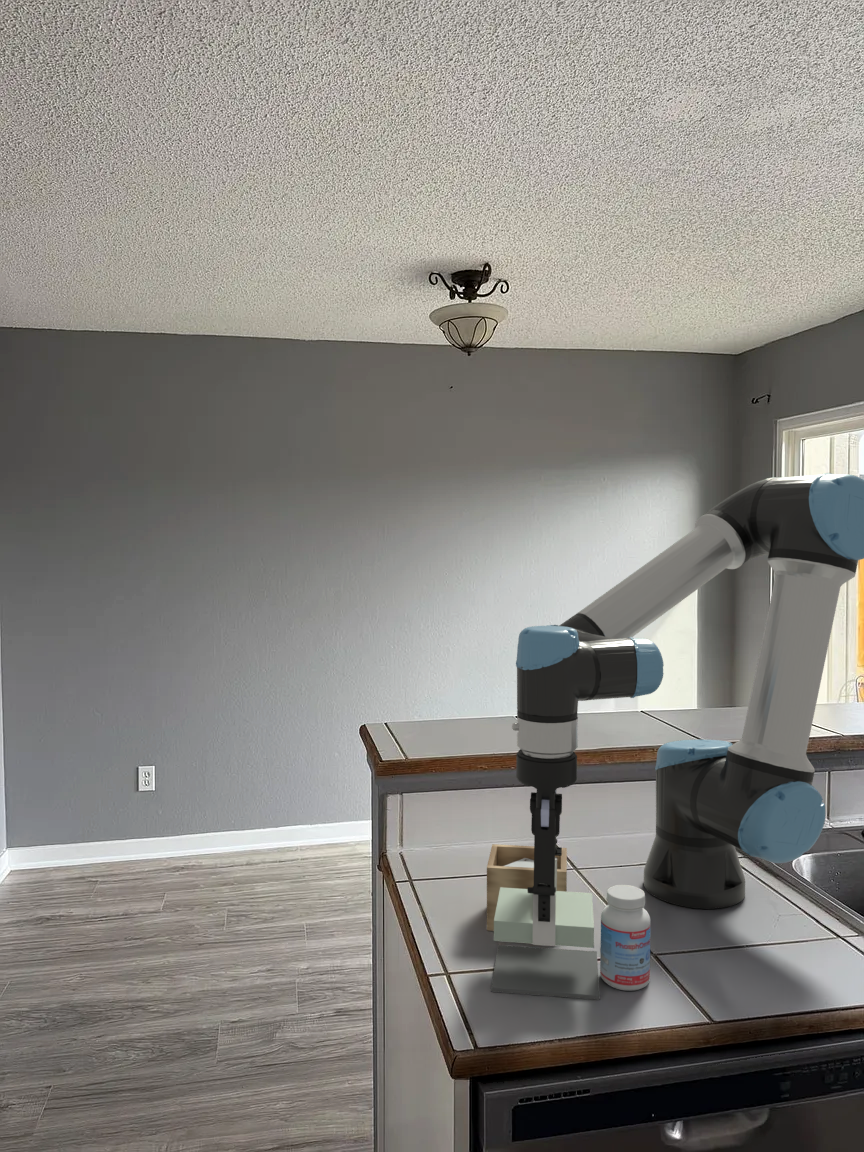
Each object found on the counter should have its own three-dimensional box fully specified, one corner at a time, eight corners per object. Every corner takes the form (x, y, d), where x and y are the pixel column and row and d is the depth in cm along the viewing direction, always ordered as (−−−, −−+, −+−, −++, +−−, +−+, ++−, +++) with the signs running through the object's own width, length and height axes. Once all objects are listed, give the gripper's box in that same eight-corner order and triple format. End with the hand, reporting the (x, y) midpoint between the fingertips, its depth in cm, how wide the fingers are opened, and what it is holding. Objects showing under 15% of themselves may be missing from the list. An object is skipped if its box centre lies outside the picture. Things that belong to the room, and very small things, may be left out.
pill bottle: (619, 997, 107) (620, 906, 106) (590, 973, 112) (591, 886, 111) (660, 986, 109) (661, 897, 108) (630, 963, 115) (631, 878, 114)
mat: (596, 955, 117) (596, 951, 117) (599, 999, 106) (599, 995, 106) (498, 948, 119) (498, 944, 119) (491, 991, 108) (491, 987, 108)
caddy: (566, 907, 131) (566, 847, 131) (566, 935, 122) (566, 871, 122) (492, 902, 133) (492, 844, 132) (486, 930, 124) (486, 867, 123)
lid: (591, 911, 116) (592, 885, 116) (593, 948, 106) (594, 919, 106) (500, 905, 118) (500, 879, 118) (493, 940, 108) (493, 912, 108)
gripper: (521, 728, 122) (520, 885, 124) (510, 774, 100) (509, 965, 101) (576, 730, 121) (574, 889, 122) (577, 777, 99) (575, 971, 100)
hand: (545, 924), depth 112 cm, fingers closed on lid, 10 cm apart
